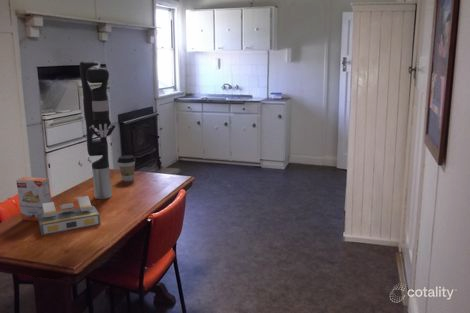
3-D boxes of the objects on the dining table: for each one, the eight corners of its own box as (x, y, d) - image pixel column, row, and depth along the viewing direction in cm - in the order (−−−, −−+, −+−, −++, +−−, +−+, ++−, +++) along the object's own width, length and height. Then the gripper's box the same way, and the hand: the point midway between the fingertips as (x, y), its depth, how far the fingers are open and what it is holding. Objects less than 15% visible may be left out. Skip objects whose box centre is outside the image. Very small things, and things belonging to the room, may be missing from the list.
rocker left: (42, 207, 216) (42, 203, 215) (53, 205, 218) (53, 201, 217) (44, 217, 209) (44, 213, 208) (56, 215, 211) (56, 211, 210)
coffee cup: (116, 182, 286) (114, 158, 282) (123, 177, 297) (121, 154, 293) (133, 182, 284) (131, 159, 280) (139, 177, 295) (138, 155, 291)
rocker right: (77, 200, 223) (77, 197, 222) (88, 199, 225) (87, 195, 224) (81, 211, 216) (80, 208, 215) (91, 210, 219) (91, 206, 217)
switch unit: (39, 225, 217) (37, 214, 216) (94, 215, 229) (93, 204, 227) (41, 235, 205) (40, 224, 204) (100, 224, 216) (99, 213, 215)
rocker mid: (61, 210, 220) (60, 205, 220) (72, 208, 222) (71, 204, 222) (62, 208, 211) (62, 204, 212) (74, 206, 214) (73, 202, 214)
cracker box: (21, 220, 224) (15, 179, 219) (28, 216, 229) (23, 176, 225) (46, 222, 221) (41, 180, 216) (53, 217, 227) (48, 177, 222)
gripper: (112, 107, 228) (115, 141, 232) (85, 110, 222) (88, 144, 226) (116, 109, 222) (119, 144, 226) (88, 111, 216) (91, 147, 220)
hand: (103, 144), depth 226 cm, fingers closed
